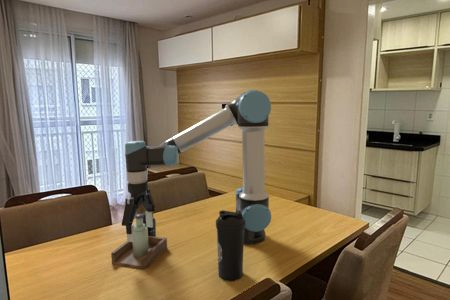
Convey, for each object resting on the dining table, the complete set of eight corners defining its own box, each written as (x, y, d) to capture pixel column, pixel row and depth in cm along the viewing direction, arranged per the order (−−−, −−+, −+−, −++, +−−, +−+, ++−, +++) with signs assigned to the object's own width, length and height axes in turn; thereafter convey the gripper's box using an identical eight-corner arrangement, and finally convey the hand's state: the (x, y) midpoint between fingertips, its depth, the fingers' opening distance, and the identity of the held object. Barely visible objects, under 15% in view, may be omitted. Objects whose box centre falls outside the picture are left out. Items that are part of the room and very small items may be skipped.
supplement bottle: (152, 242, 130) (151, 216, 129) (137, 241, 132) (136, 215, 130) (158, 235, 137) (157, 210, 135) (144, 234, 138) (143, 209, 137)
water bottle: (215, 267, 111) (214, 207, 107) (242, 265, 111) (243, 206, 108) (216, 283, 101) (216, 218, 97) (246, 281, 101) (247, 217, 98)
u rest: (167, 248, 125) (166, 238, 125) (145, 269, 109) (145, 257, 108) (136, 243, 129) (136, 234, 129) (111, 263, 113) (111, 252, 112)
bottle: (151, 250, 121) (149, 213, 119) (143, 257, 115) (141, 218, 113) (138, 248, 123) (136, 211, 120) (129, 255, 117) (127, 217, 115)
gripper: (145, 173, 128) (148, 221, 131) (108, 189, 104) (112, 247, 107) (161, 174, 125) (164, 222, 129) (127, 191, 102) (131, 249, 105)
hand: (140, 233), depth 118 cm, fingers open, 13 cm apart
